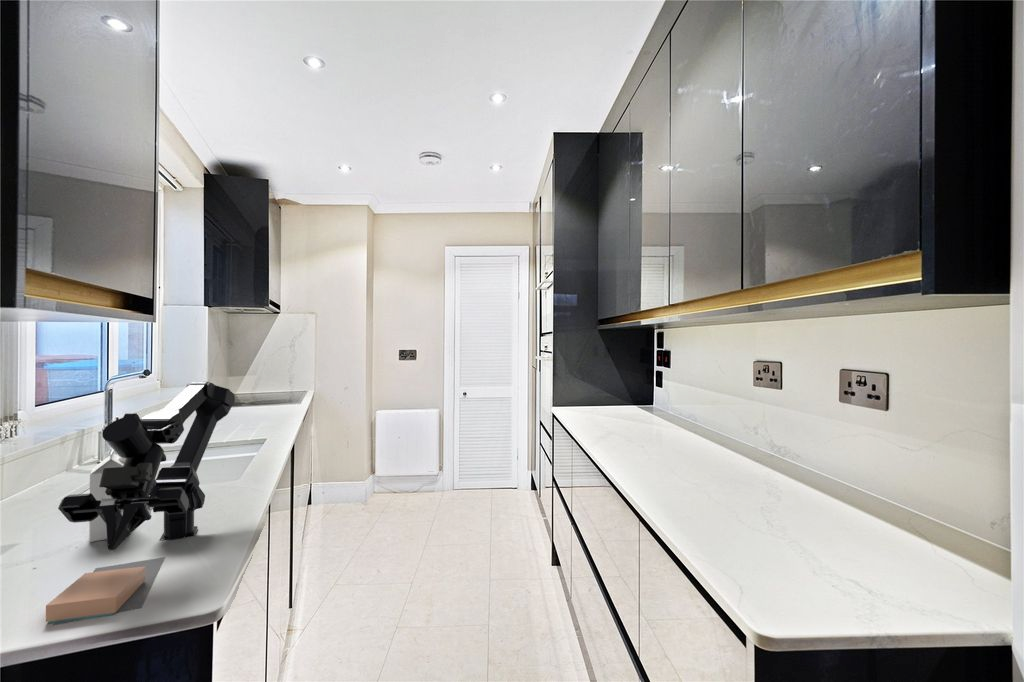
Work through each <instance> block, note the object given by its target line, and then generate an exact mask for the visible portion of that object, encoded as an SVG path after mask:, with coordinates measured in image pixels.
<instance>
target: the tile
mask: <svg viewBox="0 0 1024 682" xmlns="http://www.w3.org/2000/svg"><path fill="white" fill-rule="evenodd" d="M145 578H146V566H144V567H135V568H126V569H117V570H108V571H99V572H93V571H91V572H85V573H83V575H81V576H80V577H79V578H77V579H76V580H75V581H74V582H73V583H71V584H70V585H69V586H68V587H66V588H65V589H64V590H63V591H61V592H60V593H59V594H58V595H56V597H55V598H53V599H52V600H51V601H50V602H49V603H47V604H46V605H45V622H47V624H54V623H55V622H62V621H70V620H77V619H83V620H86V619H85V618H89V619H93V618H92V617H94V618H98V617H106V616H114V614H116V613H115V612H116V611H117V610H118V609H119V608H120V607H121V606H122V605H123V604H124V603H125V602H126V601H127V600H128V598H129V597H130V596H131V595H132V594H133V593H134V592H135V591H136V590H137V589H138V588H139V587H140V585H141V584H142V583H143V582H144V581H145Z"/></svg>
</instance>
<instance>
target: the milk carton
mask: <svg viewBox="0 0 1024 682" xmlns="http://www.w3.org/2000/svg"><path fill="white" fill-rule="evenodd" d="M114 452H115V451H114V450H113V449H112V448H111V451H110V454H109V455H108V456H107V457H106V458H104V459H103V460H102V461H101V462H99V463H98V464H96V466H94V467H93V468H92V470H91V472H89V493H91V494H92V495H93V496H94V498H95V499H96V500H101V498H109V497H111V495H107V494H106V493H105V491H106V489H107V488H105V487H99V485H100V481H101V477H102V472H103V469H104V468H115V467H123V465H124V463H125V460H126V458H122V457H120V456H119V455H118V454H117V453H116V454H115V453H114ZM121 515H122V516H123V511H122V512H121ZM88 524H89V530H88V532H89V533H88V535H89V537H88V539H89V540H88V541H89V543H92V542H97V541H105V540H107V528H106V523H105V522H104V521H103V519H102V518H101V517H100V516H99V515H98V517H97V518H95V519H94V520H92V521H88Z"/></svg>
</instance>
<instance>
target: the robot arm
mask: <svg viewBox="0 0 1024 682" xmlns="http://www.w3.org/2000/svg"><path fill="white" fill-rule="evenodd" d="M235 400H236V397H235V394H234V392H232V391H231V390H230V388H226V387H222V386H219V385H216V384H215V383H213V382H209V381H191V382H189V383H187V384H186V387H185V388H184V390H182V392H180V393H179V394H177V396H175V398H174V399H173V400H171V401H170V402H169V403H168V404H167V405H165V407H164V408H161V409H158V410H155V411H152V412H149V413H148V414H146V415H144V416H142V417H140V416H139V414H138V413H137V412H133V413H132V412H130V413H129V412H128V413H127V412H126V413H124V415H123V417H121V418H118V419H116V420H114V421H112V422H111V423H109V424H108V425H107V426H105V427H104V429H103V431H102V433H101V434H102V438H103V439H104V440H105V442H106V443H107V444H108V445H109V446H110V447H111V450H112V449H113V450H114V452H115V453H116V455H118V456H119V457H122V458H126V460H125V463H124V465H123V467H115V468H104V469H103V472H102V477H101V481H100V485H99V487H105V488H107V489H106V491H105V493H106V494H107V495H111V497H109V498H101V500H96V499H95V498H94V496H93V495H92V494H91V493H90V492H89V493H79V494H68V495H66V496H64V497H63V498H62V499H61V501H60V503H59V506H58V507H57V509H58V510H59V511H60V513H62V515H63V516H64V517H65V518H66V519H67V520H68V522H70V523H85V522H87V523H89V521H92V520H94V519H95V518H97V517H98V515H99V516H100V517H101V518H102V519H103V521H104V522H105V523H106V528H107V539H106V541H107V542H106V543H107V550H108V551H115V550H116V549H118V548H119V546H120V545H122V543H124V542H125V540H127V538H128V537H129V536H130V535H131V534H132V533H133V532H134V531H135V530H136V529H137V528H138V527H140V526H141V525H142V524H143V523H144V522H145V521H150V520H151V519H152V514H151V513H152V511H153V513H157V512H158V513H159V512H161V513H163V532H162V534H161V536H160V538H159V540H158V541H160V542H162V541H169V540H170V541H171V540H175V539H176V540H178V539H183V538H187V537H188V538H189V537H195V536H196V533H197V530H198V526H197V525H195V511H196V510H199V509H202V508H204V505H205V499H206V494H205V492H204V491H203V490H202V488H201V487H200V485H201V484H200V479H199V476H198V473H197V471H198V468H199V466H200V464H201V462H202V459H203V457H204V455H205V451H206V449H207V447H208V445H209V442H210V440H211V437H212V435H213V433H214V431H215V428H216V426H217V424H218V422H219V421H220V420H222V419H223V418H225V417H226V416H227V415H229V413H230V411H231V409H232V408H233V406H234V405H235ZM194 412H195V413H196V414H195V417H194V418H193V419H194V420H193V422H192V424H191V426H190V428H189V431H188V432H187V434H186V437H185V438H184V442H183V443H182V446H181V448H180V450H179V452H178V454H177V456H176V459H175V461H174V463H173V464H172V465H171V466H169V467H165V466H163V467H161V469H160V470H159V468H160V464H161V463H162V462H167V455H166V454H165V450H164V449H163V447H162V445H163V444H165V445H166V444H170V445H171V444H175V443H176V442H177V441H178V440H179V438H180V437H181V435H182V434H183V433H184V431H185V427H184V423H185V422H186V420H187V419H188V418H190V416H191V415H192V414H193V413H194ZM161 444H162V445H161ZM122 511H123V516H122V515H121V512H122Z"/></svg>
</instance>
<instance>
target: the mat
mask: <svg viewBox="0 0 1024 682" xmlns="http://www.w3.org/2000/svg"><path fill="white" fill-rule="evenodd" d="M165 559H166V556H163V557H157V558H151V559H147V560H146V559H145V560H138V561H132V562H126V563H120V564H114V565H107V566H102V567H96V568H95V569H94V570H93V571H92V572H99V571H108V570H117V569H126V568H135V567H144V566H146V578H145V581H144V582H143V583H142V584H141V585H140V587H139V588H138V589H137V590H136V591H135V592H134V593H133V594H132V595H131V596H130V597H129V598H128V600H127V601H126V602H125V603H124V604H123V605H122V606H121V607H120V608H119V609H118V610H117V611H116V612H115V613H114V614H117V613H122V612H123V613H124V612H129V611H134V610H138V609H142V608H143V605H144V603H145V602H146V599H147V597H148V594H149V593H150V590H151V588H152V587H153V584H154V582H155V581H156V578H157V576H158V574H159V572H160V569H161V568H162V565H163V563H164V561H165ZM93 618H95V617H92V618H91V619H93ZM89 619H90V618H85V619H77V620H70V621H62V622H55V623H52V626H57V625H63V624H67V623H72V622H78V621H83V620H89Z"/></svg>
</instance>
